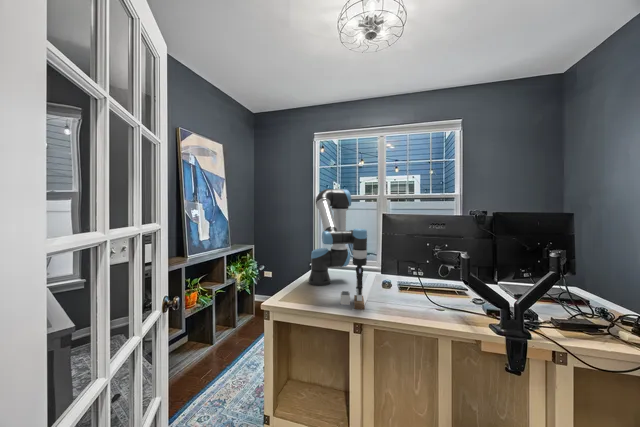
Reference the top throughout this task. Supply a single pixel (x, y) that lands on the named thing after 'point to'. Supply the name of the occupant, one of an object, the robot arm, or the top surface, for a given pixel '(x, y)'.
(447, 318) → the top surface
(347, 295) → the pale grey block
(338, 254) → the robot arm
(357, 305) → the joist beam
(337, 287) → the top surface
